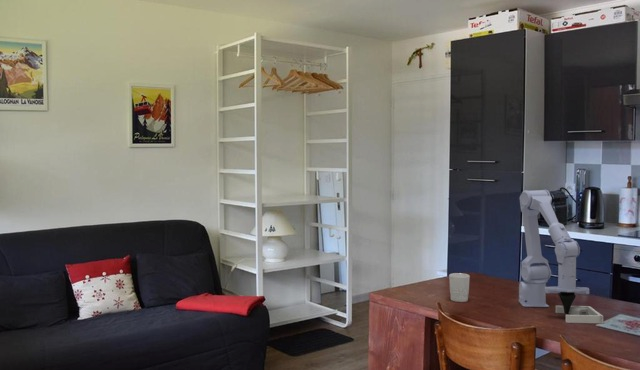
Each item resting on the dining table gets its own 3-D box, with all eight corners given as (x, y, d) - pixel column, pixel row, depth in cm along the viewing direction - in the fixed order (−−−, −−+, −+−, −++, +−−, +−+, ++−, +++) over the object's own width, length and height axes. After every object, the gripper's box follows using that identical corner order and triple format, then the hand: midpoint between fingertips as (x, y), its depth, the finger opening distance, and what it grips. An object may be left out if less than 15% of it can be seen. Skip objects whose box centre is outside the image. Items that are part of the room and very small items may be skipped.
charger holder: (566, 322, 197) (566, 315, 197) (555, 312, 210) (555, 305, 210) (603, 323, 196) (603, 316, 196) (589, 313, 209) (590, 306, 208)
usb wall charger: (578, 321, 198) (578, 309, 198) (564, 315, 205) (565, 304, 205) (588, 320, 200) (588, 308, 199) (573, 315, 206) (574, 304, 206)
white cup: (457, 303, 224) (457, 278, 224) (445, 298, 231) (445, 274, 231) (473, 301, 227) (473, 276, 227) (461, 296, 234) (461, 272, 234)
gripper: (548, 277, 199) (548, 316, 200) (592, 278, 198) (592, 317, 198) (543, 273, 206) (543, 310, 207) (585, 273, 205) (585, 311, 205)
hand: (566, 313), depth 203 cm, fingers closed
